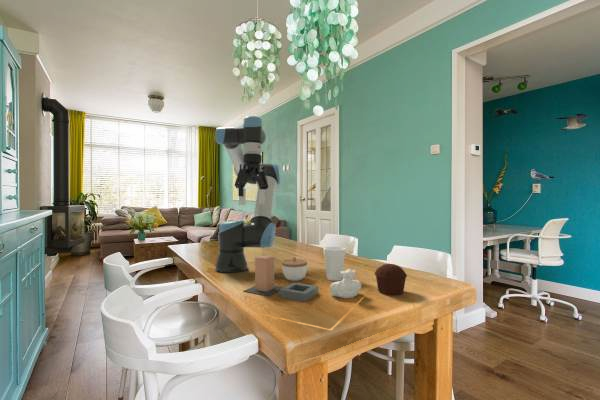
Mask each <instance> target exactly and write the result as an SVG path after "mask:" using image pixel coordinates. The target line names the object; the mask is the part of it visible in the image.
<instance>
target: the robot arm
mask: <svg viewBox="0 0 600 400" xmlns="http://www.w3.org/2000/svg"><path fill="white" fill-rule="evenodd" d="M262 127H263V122H262V118H261V117H259V116H257V115H252V116H251V115H249V116H246V117H245V116H244V119H243V127H242V126H241V127H239V126H238V127H237V126H236V127H230V126H228V127H227V126H224V127H216V129H215V131H214V138H215V142H216V143H217V145H224V148H225V150H226V152H227V154H228V156H229V158H230V160H231V161H230V162H231V163H232V165H233V171H234V174H235V175H236V179H235V182H234V187H236V189H237V190H238V191H237V193H238V195H237V196H238V205H240V206H244V205H245V206H246V200H247V199H246V192H247V191H246V188H245V187H246V185H247V184H250V185H256V186H257V192H256V193H257V194H256V199H255V206H254V211H253V212H254V214H253V216H252V217H251V218H250V220H249V222H245V220H243V219H239V220H232V221H225V222H221V223H220V224H219V227H218V230H219V231H218V256H217V260H216V263H215V265H214V270H215V271H216V272H218V271H219V273H239V272H244V271H246V270H248V262H247V260H246V256H245V252H244V251H245V249H244V248H259V249H260V248H261V249H264V248H271V247H272V246H273V245H274V242H275V240H276V232H277V226H276V224H275V223H274V222H273V220H272V218H271V217H272V209H273V199H274V193H275V191H274V190H275V189H276V188H277V186H278V185H280V184H281V182H280V181H281V180H280V179H281V178H280V169H279V168H280V167H279V164H277V163H263V162H262V160H263V159H262V158H263V157H262V151H263V149H262V145H263V144H264V143H265V142H266V139H267V138H266V133H265V130H264V129H263V128H262ZM242 145H243V146H242Z"/></svg>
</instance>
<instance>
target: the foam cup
mask: <svg viewBox="0 0 600 400" xmlns="http://www.w3.org/2000/svg"><path fill="white" fill-rule="evenodd" d="M346 252H347V251H346V248H345V247H343V246H342V247H341V246H325V247H323V253H322V254H323V258H324V265H325V274H326V280H328V281H333V282H338V281H342V280H343V275H341V273H340V271H344V266H345V265H344V263H345V258H346V257H345V256H346Z"/></svg>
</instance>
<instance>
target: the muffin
mask: <svg viewBox="0 0 600 400" xmlns="http://www.w3.org/2000/svg"><path fill="white" fill-rule="evenodd" d="M374 275H375V277H376V284H377V285H376V286H377V291H378V293H379V294H382V295H386V296H393V297H394V296H401V295H402V294H404V290H405V283H406V278H407V276H408V275H407V274H406V272H405V271H404V269H403V268H402V267H401V266H400V265H397V264H394V263H385V264H382V265H381V266H379V267H378V268H377V269H376V270H375V272H374Z"/></svg>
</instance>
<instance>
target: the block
mask: <svg viewBox="0 0 600 400" xmlns="http://www.w3.org/2000/svg"><path fill="white" fill-rule="evenodd" d="M254 259H255V261H254V264H255V266H254V267H255V268H254V272H255V273H254V282H255V283H254V286H255V290H259V291H264V292H267V291H269V290H271V289H274V286H275V256H274V255H268V254H267V255H266V254H262V255H258V256H255V257H254Z"/></svg>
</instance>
